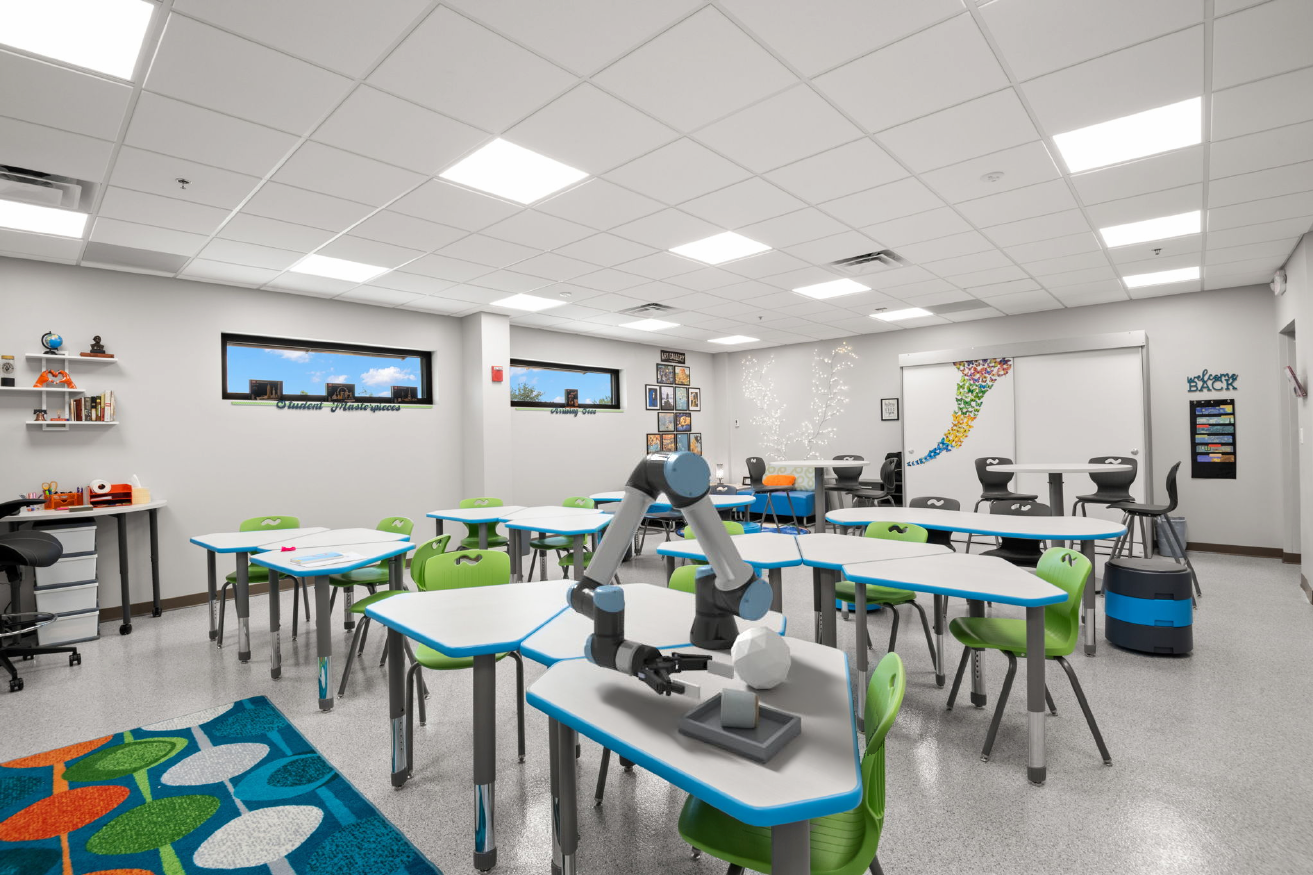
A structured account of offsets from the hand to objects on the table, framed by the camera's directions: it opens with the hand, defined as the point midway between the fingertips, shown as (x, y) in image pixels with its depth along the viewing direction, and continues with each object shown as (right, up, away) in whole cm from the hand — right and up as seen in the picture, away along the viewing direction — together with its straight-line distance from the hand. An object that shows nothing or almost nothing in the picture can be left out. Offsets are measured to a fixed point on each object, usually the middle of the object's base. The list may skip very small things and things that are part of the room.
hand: (717, 682), depth 129 cm
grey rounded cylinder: (+4, -8, -1) cm, 9 cm away
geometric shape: (+13, -9, +20) cm, 26 cm away
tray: (+4, -9, -3) cm, 11 cm away
